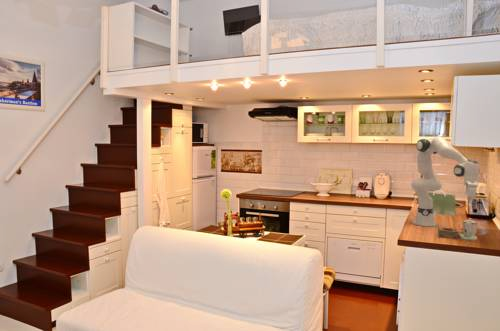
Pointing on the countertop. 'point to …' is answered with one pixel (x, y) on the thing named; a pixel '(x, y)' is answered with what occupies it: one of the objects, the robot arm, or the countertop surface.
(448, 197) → the grocery bag
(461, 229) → the teacup with lid
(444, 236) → the pocket block
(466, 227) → the peg
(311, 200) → the countertop surface
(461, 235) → the tray
